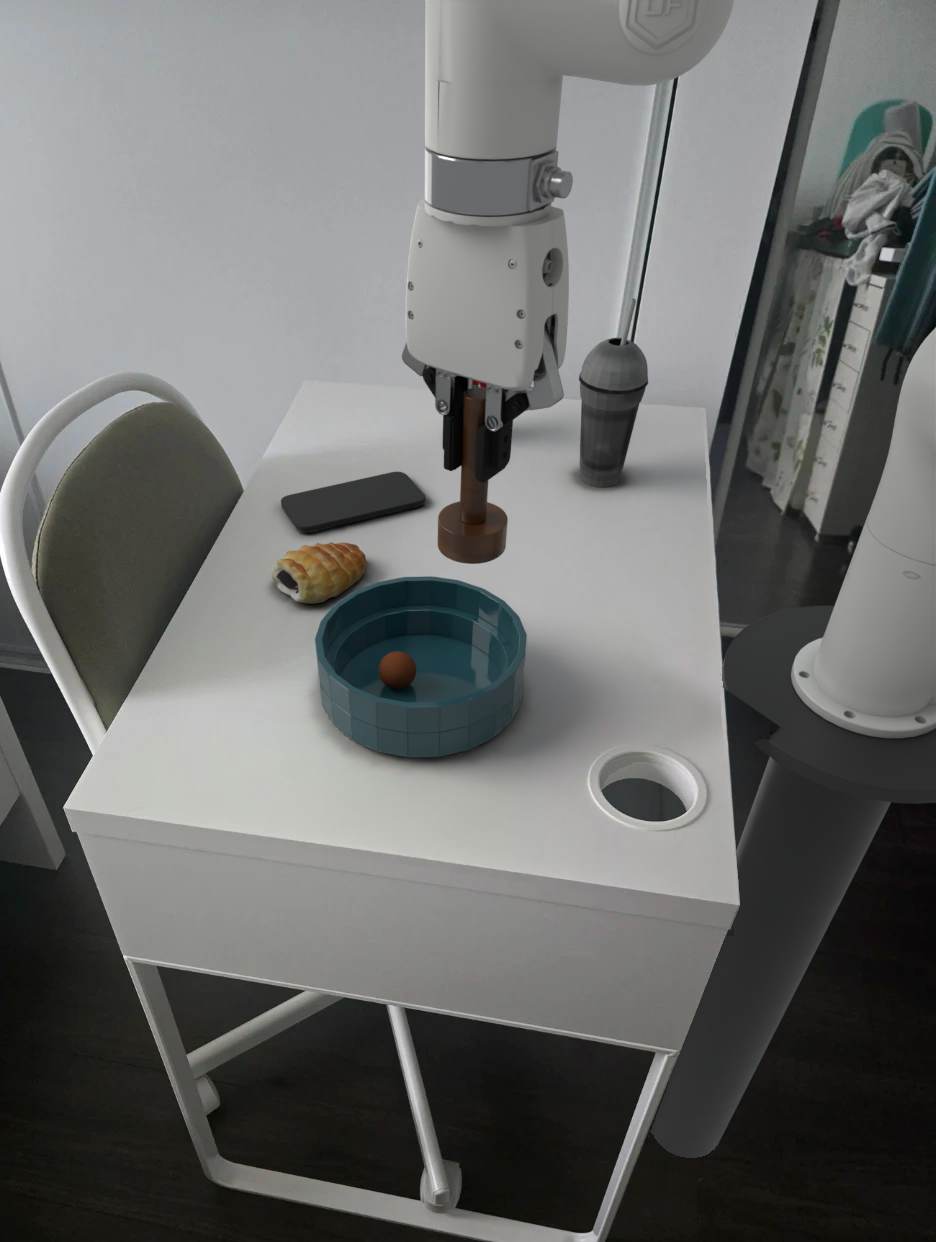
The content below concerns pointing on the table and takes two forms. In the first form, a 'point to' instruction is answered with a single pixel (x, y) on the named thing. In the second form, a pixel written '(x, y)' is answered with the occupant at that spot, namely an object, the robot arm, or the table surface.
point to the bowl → (421, 665)
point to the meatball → (397, 670)
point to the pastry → (319, 571)
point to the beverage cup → (610, 405)
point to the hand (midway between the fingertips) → (475, 466)
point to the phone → (352, 501)
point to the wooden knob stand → (472, 500)
